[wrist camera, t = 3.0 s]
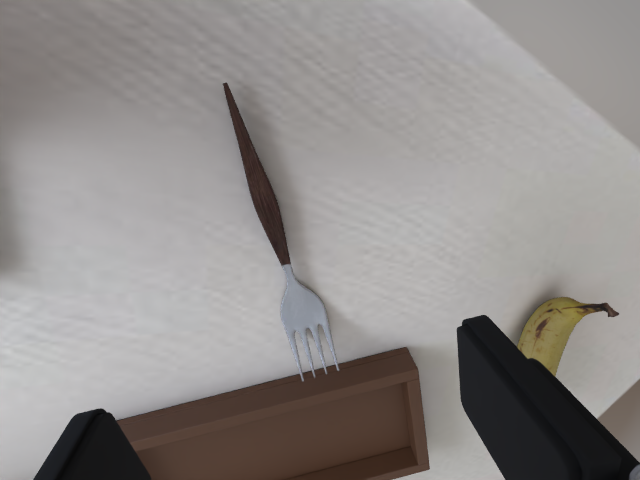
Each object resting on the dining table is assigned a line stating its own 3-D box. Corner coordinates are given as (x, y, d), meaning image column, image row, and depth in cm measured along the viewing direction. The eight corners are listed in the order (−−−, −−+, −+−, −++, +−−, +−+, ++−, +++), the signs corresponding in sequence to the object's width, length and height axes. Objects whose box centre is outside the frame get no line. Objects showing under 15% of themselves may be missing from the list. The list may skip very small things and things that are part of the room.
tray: (97, 425, 22) (81, 455, 20) (406, 346, 23) (418, 368, 21) (156, 513, 26) (148, 545, 24) (419, 444, 27) (430, 469, 25)
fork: (255, 75, 16) (253, 73, 14) (337, 347, 22) (342, 370, 20) (198, 91, 16) (188, 91, 14) (296, 359, 22) (299, 383, 20)
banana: (503, 395, 26) (542, 446, 22) (475, 392, 25) (510, 443, 22) (576, 276, 22) (635, 313, 19) (545, 269, 22) (600, 306, 18)
